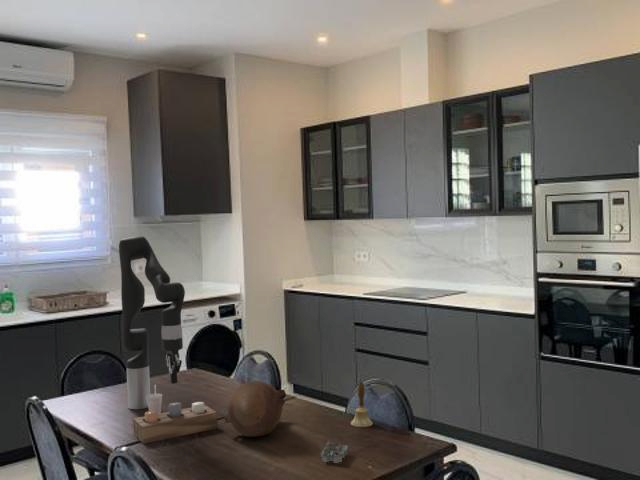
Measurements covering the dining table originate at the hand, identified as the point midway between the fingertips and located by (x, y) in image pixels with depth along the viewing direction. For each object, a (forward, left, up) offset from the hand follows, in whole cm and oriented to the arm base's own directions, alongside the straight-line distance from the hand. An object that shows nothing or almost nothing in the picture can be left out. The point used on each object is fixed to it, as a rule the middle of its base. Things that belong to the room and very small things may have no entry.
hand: (173, 382), depth 237 cm
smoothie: (-19, -2, -18) cm, 27 cm away
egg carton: (+57, +33, -19) cm, 69 cm away
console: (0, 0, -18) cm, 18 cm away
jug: (+19, +27, -18) cm, 37 cm away
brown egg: (0, -9, -15) cm, 18 cm away
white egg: (0, +9, -15) cm, 18 cm away
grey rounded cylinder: (0, 0, -14) cm, 14 cm away
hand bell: (+35, +60, -18) cm, 72 cm away
